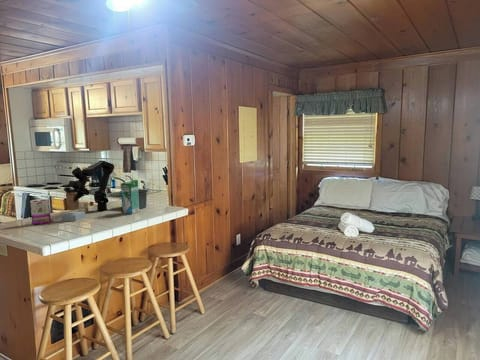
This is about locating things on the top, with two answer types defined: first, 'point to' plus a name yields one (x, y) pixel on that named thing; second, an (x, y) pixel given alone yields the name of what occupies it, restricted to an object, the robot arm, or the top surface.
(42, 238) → the top surface
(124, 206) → the milk carton
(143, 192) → the storage bin
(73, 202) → the walnut block
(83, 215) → the base block
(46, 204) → the candy bar box
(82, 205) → the birch block
